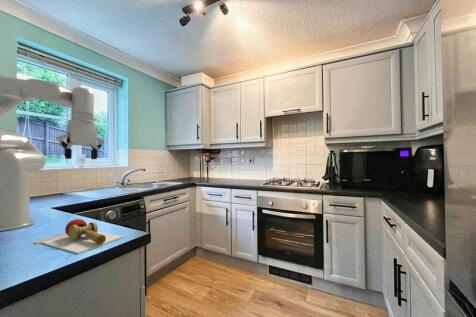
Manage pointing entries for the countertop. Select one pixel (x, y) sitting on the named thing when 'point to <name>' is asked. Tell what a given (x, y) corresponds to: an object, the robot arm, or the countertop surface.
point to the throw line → (49, 239)
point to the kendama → (84, 231)
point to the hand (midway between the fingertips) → (81, 159)
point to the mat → (79, 242)
